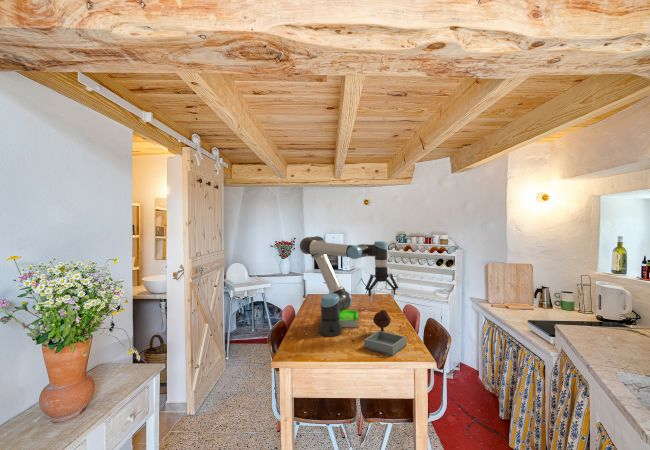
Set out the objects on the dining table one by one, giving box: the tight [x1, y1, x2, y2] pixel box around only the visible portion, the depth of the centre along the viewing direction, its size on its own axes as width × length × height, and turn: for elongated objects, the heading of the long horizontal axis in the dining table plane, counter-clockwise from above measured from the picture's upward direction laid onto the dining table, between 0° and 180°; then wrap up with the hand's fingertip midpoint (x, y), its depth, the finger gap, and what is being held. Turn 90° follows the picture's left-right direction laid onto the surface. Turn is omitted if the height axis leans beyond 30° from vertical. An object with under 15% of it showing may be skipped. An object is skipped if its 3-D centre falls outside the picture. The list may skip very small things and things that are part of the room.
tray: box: [339, 309, 359, 328], centre depth 219 cm, size 25×25×5 cm
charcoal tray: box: [363, 330, 407, 357], centre depth 172 cm, size 17×17×5 cm
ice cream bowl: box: [372, 309, 392, 332], centre depth 192 cm, size 11×11×15 cm
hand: (382, 300), depth 192 cm, fingers open, 13 cm apart
